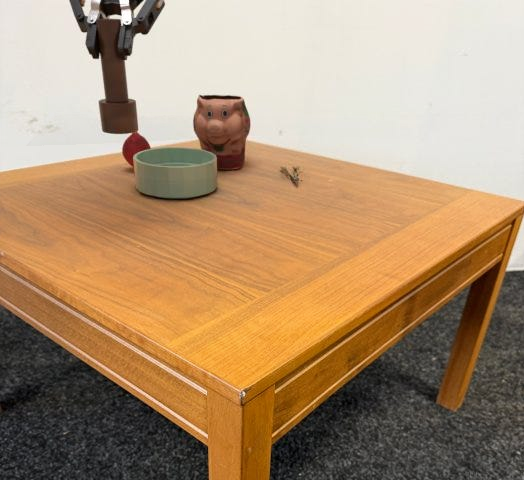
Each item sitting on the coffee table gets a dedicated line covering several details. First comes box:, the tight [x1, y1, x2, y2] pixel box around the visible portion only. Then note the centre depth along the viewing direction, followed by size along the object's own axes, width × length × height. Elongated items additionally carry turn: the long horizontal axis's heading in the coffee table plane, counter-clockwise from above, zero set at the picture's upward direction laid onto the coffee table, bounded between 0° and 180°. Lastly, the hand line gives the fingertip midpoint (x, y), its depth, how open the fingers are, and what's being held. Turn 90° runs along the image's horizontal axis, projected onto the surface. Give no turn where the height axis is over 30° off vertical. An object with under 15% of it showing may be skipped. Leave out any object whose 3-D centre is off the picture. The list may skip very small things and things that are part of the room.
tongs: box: [279, 166, 301, 188], centre depth 113 cm, size 4×13×2 cm, turn 9°
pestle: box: [96, 18, 139, 135], centre depth 77 cm, size 5×5×14 cm
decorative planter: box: [192, 94, 251, 170], centre depth 118 cm, size 20×12×14 cm, turn 3°
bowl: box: [133, 146, 218, 200], centre depth 103 cm, size 15×15×6 cm
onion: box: [121, 131, 152, 168], centre depth 113 cm, size 6×6×8 cm
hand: (108, 54), depth 73 cm, fingers closed on pestle, 3 cm apart
